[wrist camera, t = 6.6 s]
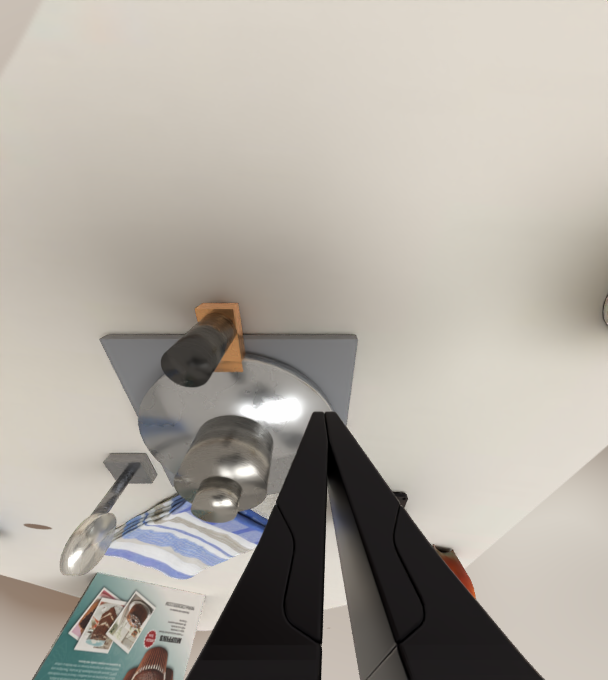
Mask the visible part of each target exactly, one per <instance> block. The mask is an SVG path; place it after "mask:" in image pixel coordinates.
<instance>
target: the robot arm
mask: <svg viewBox="0 0 608 680" xmlns="http://www.w3.org/2000/svg"><path fill="white" fill-rule="evenodd" d="M327 486H328V492H329V498H330V504H331V510H332V516H333V522H334V528H335V534H336V540H337V546H338V551H339V557H340V563H341V569H342V575H343V581H344V587H345V593H346V599H347V605H348V610H349V616H350V622H351V628H352V634H353V640H354V646H355V652H356V658H357V663H358V670H359V675H360V680H545V679H544V678H543V677H542V676H541V675H540V674H539V673H538V672H537V671H536V670H535V669H534V668H533V667H532V665H531V664H530V663H529V662H528V661H527V660H526V659H525V658H524V657H523V655H522V654H521V653H520V652H519V651H518V649H517V648H516V647H515V646H514V645H513V644H512V642H511V641H510V640H509V639H508V638H507V636H506V635H505V634H504V633H503V632H502V631H501V629H500V628H499V627H498V626H497V624H496V623H495V622H494V621H493V620H492V618H491V617H490V616H489V615H488V614H487V612H486V611H485V610H484V609H483V607H482V606H481V605H480V604H479V603H478V602H477V600H476V599H475V598H474V597H473V595H472V594H471V593H470V592H469V591H468V589H467V588H466V587H465V586H464V585H463V583H462V582H461V581H460V580H459V579H458V577H457V576H456V575H455V574H454V573H453V571H452V570H451V569H450V568H449V566H448V565H447V564H446V563H445V562H444V560H443V559H442V558H441V557H440V555H439V554H438V553H437V552H436V550H435V549H434V548H433V547H432V545H431V544H430V543H429V542H428V540H427V539H426V537H425V536H424V535H423V533H422V532H421V531H420V529H419V528H418V527H417V525H416V524H415V523H414V521H413V520H412V519H411V517H410V516H409V514H408V513H407V511H406V510H405V509H404V507H405V505H406V502H407V500H408V497H407V494H405V493H393V492H392V490H391V489H390V488H389V486H388V485H387V483H386V482H385V481H384V479H383V478H382V476H381V475H380V474H379V472H378V471H377V469H376V468H375V466H374V465H373V464H372V462H371V461H370V459H369V458H368V457H367V455H366V454H365V452H364V451H363V450H362V448H361V447H360V445H359V444H358V442H357V441H356V440H355V438H354V437H353V435H352V434H351V433H350V431H349V430H348V428H347V427H346V426H345V424H344V423H343V421H342V420H341V418H340V417H339V416H338V414H337V413H336V412H334V411H326V412H325V413H324V412H322V411H314V412H313V413H312V415H311V417H310V420H309V422H308V425H307V427H306V430H305V432H304V435H303V437H302V439H301V442H300V444H299V447H298V449H297V452H296V454H295V457H294V459H293V461H292V464H291V466H290V469H289V471H288V474H287V476H286V479H285V481H284V484H283V486H282V488H281V491H280V493H279V496H278V498H277V501H276V505H275V506H274V508H273V510H272V512H271V515H270V517H269V520H268V522H267V524H266V527H265V529H264V531H263V533H262V536H261V538H260V540H259V542H258V545H257V547H256V549H255V551H254V553H253V555H252V557H251V559H250V561H249V563H248V565H247V567H246V569H245V571H244V572H243V574H242V576H241V578H240V580H239V582H238V584H237V586H236V587H235V589H234V591H233V593H232V595H231V597H230V599H229V601H228V603H227V604H226V606H225V608H224V610H223V612H222V614H221V616H220V618H219V619H218V621H217V623H216V625H215V627H214V629H213V631H212V633H211V635H210V637H209V639H208V640H207V642H206V644H205V646H204V648H203V649H202V651H201V653H200V655H199V657H198V658H197V660H196V662H195V664H194V665H193V667H192V669H191V671H190V672H189V674H188V676H187V678H186V679H185V680H321V665H322V647H321V646H322V634H323V602H324V571H325V539H326V508H327Z"/></svg>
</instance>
